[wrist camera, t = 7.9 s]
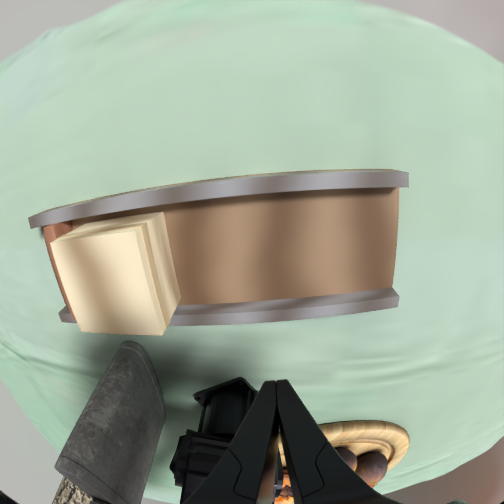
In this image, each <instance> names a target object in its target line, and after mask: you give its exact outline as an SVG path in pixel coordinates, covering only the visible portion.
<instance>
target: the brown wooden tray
mask: <svg viewBox="0 0 504 504" xmlns="http://www.w3.org/2000/svg"><path fill="white" fill-rule="evenodd" d="M399 187H409V173H407V172H403V171H398V170H393V169H344V170H315V171H296V172H281V173H268V174H256V175H245V176H235V177H226V178H217V179H209V180H201V181H193V182H186V183H179V184H172V185H166V186H160V187H153V188H147V189H142V190H136V191H131V192H125V193H120V194H115V195H110V196H105V197H100V198H95V199H91V200H86V201H82V202H78V203H73V204H69V205H65V206H61V207H57V208H53V209H49V210H46V211H43V212H41V213H38V214H36V215H33V216H31V217H29V218H28V219H29V224H30V228H36V227H40V226H41V227H42V231H43V235H44V239H45V243H46V247H47V250H48V254H49V257H50V260H51V264H52V267H53V270H54V273H55V276H56V279H57V282H58V285H59V288H60V291H61V294H62V296H63V299H64V302H65V304H66V306H65V307H64V308H63V309H62V310H61V311H60V312H59V313H58V314H59V316H60V319H61V321H62V322H68V323H77V321H76V318H75V316H74V313H73V311H72V308H71V306H70V303H69V301H68V298H67V295H66V292H65V290H64V287H63V284H62V281H61V278H60V275H59V272H58V269H57V266H56V262H55V259H54V256H53V252H52V248H51V245H50V243H51V242H53V241H55V240H56V239H57V238H58V237H60V236H62V235H65V234H67V233H69V232H71V231H73V230H75V229H76V228H78V227H80V226H82V225H84V224H86V223H89V222H95V221H101V220H107V219H113V218H120V217H126V216H133V215H140V214H147V213H154V212H161V211H164V216H165V222H166V228H167V233H168V238H169V244H170V249H171V254H172V259H173V264H174V268H175V273H176V278H177V282H178V286H179V291H180V295H181V299H180V301H179V303H178V305H177V307H176V309H175V311H174V313H173V315H172V317H171V319H170V324H169V326H196V325H226V324H246V323H262V322H276V321H289V320H300V319H310V318H320V317H329V316H338V315H346V314H354V313H361V312H368V311H375V310H382V309H388V308H395V307H398V301H399V295H398V294H397V293H396V292H395V290H394V289H393V288H392V284H393V276H394V268H395V258H396V247H397V233H398V212H399Z"/></svg>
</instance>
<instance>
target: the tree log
mask: <svg viewBox="0 0 504 504" xmlns="http://www.w3.org/2000/svg"><path fill="white" fill-rule="evenodd" d="M90 500H91V501H92V497H90V496H89V495H88V494H86V493H85V492H84V491H82V490H81V489H80V488H79V487H77V486H76V485H75V484H73V483H72V482H71V481H70V480H68V479H67V478H66V477H63V479H62V481H61V484H60V486H59V488H58V491H57V493H56V495H55V498H54V500H53V503H52V504H89V503H90Z"/></svg>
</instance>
